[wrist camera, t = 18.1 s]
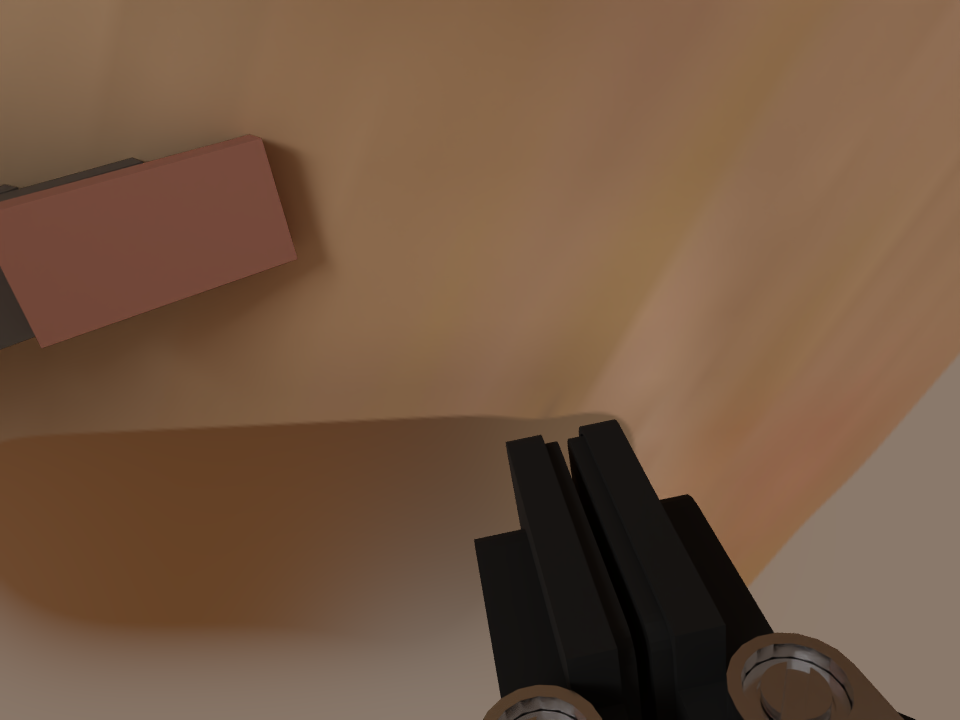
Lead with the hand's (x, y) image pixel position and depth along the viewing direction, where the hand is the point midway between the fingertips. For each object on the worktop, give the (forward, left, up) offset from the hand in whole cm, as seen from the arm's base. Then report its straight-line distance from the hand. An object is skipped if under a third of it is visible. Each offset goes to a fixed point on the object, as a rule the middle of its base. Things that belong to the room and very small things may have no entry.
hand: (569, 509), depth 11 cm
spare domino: (-7, 0, -22) cm, 24 cm away
